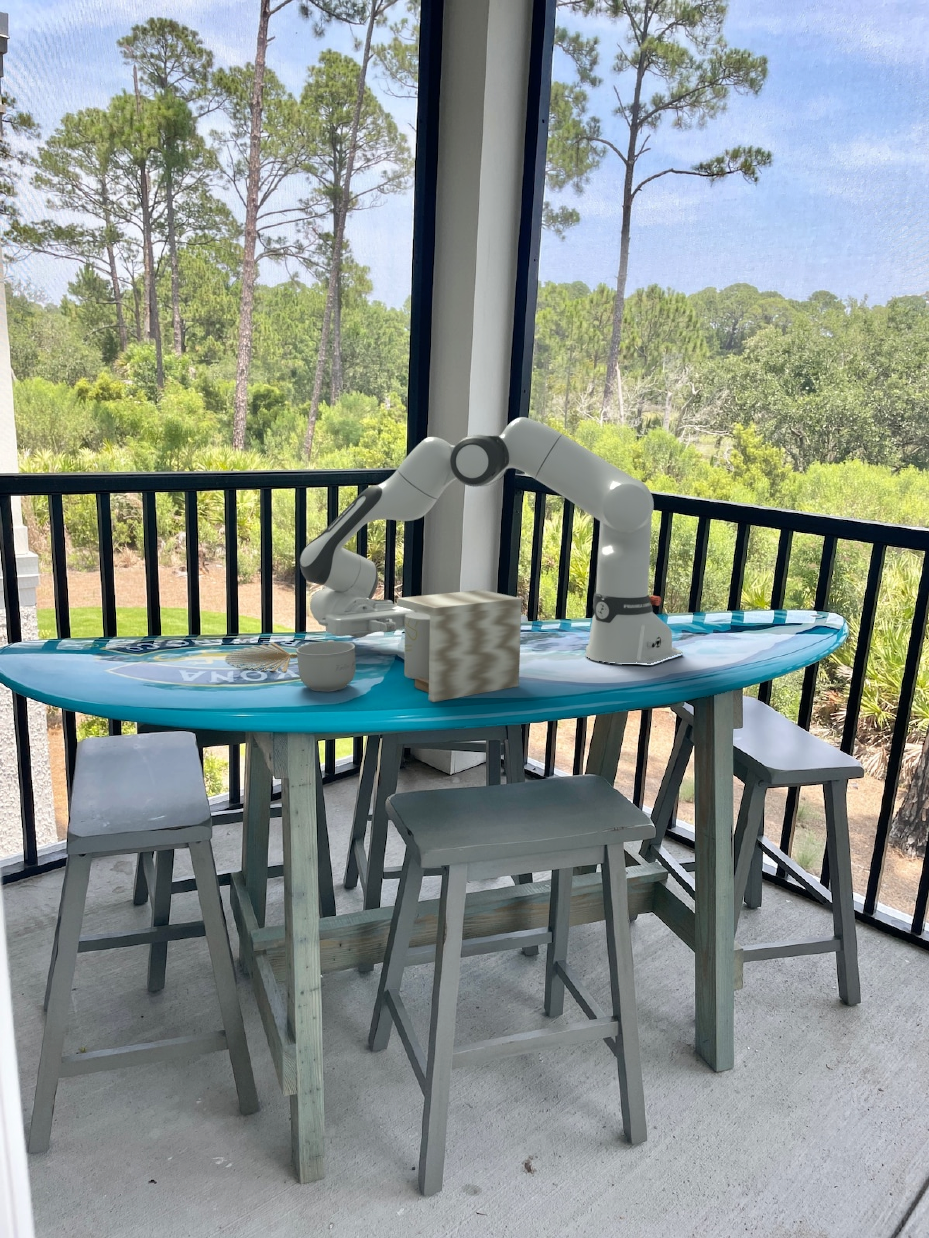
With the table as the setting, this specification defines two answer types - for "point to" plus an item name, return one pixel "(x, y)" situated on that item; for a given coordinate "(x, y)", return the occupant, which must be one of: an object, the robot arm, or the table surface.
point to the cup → (417, 645)
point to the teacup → (326, 665)
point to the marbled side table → (469, 642)
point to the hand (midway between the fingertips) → (390, 627)
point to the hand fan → (261, 657)
